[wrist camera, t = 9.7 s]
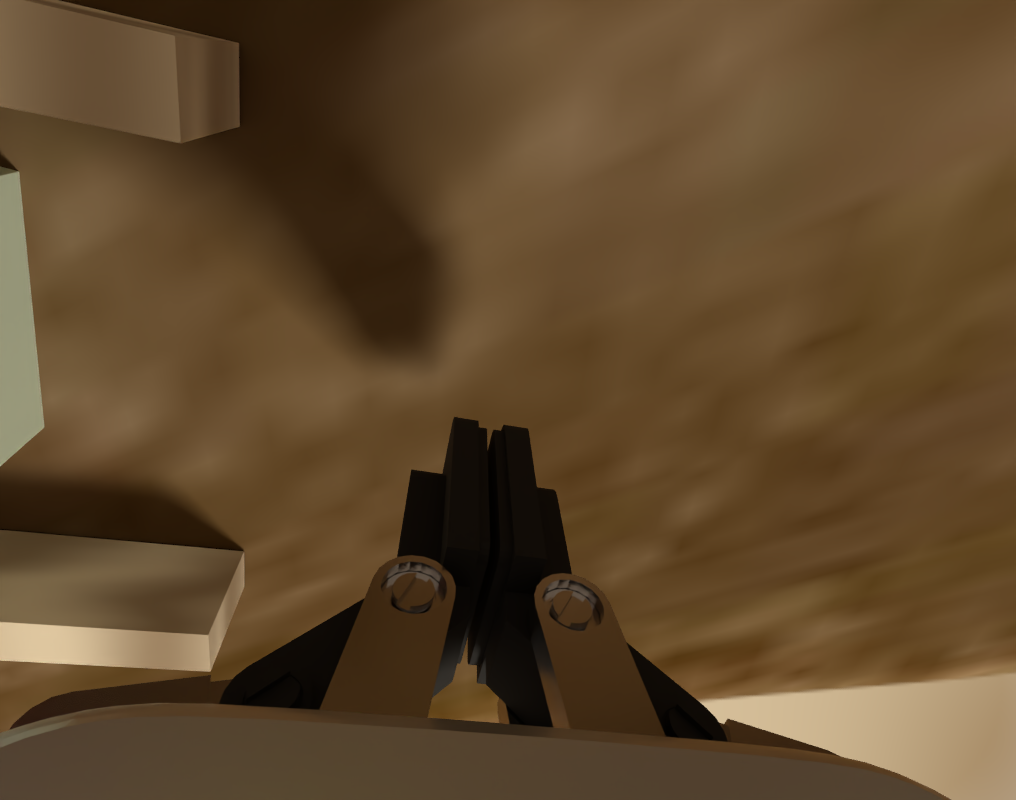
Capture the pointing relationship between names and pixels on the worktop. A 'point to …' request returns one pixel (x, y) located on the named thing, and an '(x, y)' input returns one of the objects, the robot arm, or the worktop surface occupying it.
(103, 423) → the worktop surface
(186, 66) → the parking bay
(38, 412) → the pale green block
